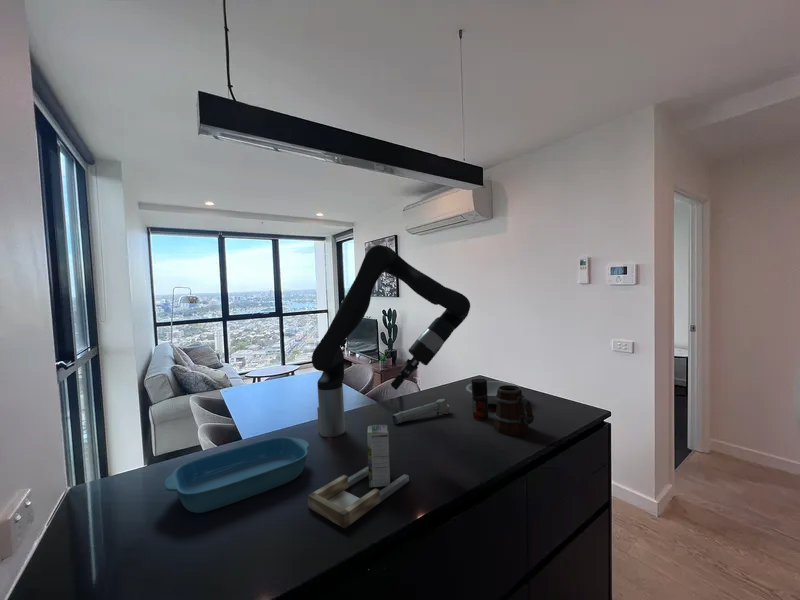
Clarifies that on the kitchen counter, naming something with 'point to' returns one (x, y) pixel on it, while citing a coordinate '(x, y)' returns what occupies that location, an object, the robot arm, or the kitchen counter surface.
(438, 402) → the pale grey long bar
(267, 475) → the casserole dish
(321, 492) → the socket
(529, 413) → the mug
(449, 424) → the kitchen counter surface
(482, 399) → the deodorant
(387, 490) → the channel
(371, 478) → the syrup box
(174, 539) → the kitchen counter surface
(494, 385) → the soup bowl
